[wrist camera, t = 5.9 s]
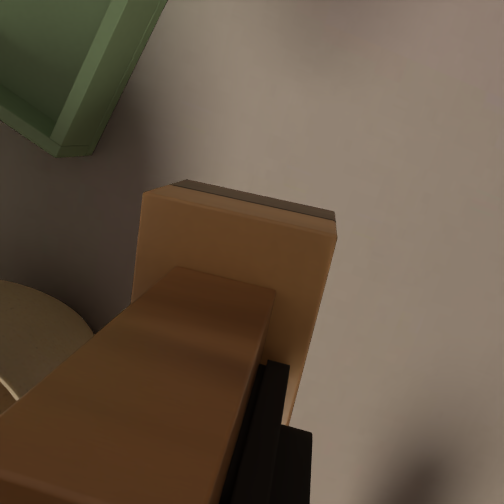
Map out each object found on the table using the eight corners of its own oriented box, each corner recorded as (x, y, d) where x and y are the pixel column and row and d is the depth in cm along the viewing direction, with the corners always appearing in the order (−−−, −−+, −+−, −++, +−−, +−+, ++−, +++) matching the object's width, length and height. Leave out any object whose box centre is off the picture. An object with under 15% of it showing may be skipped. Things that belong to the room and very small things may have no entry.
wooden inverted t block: (185, 178, 12) (-169, 279, 3) (335, 211, 11) (363, 424, 3) (150, 429, 15) (-99, 843, 6) (271, 465, 14) (185, 969, 6)
